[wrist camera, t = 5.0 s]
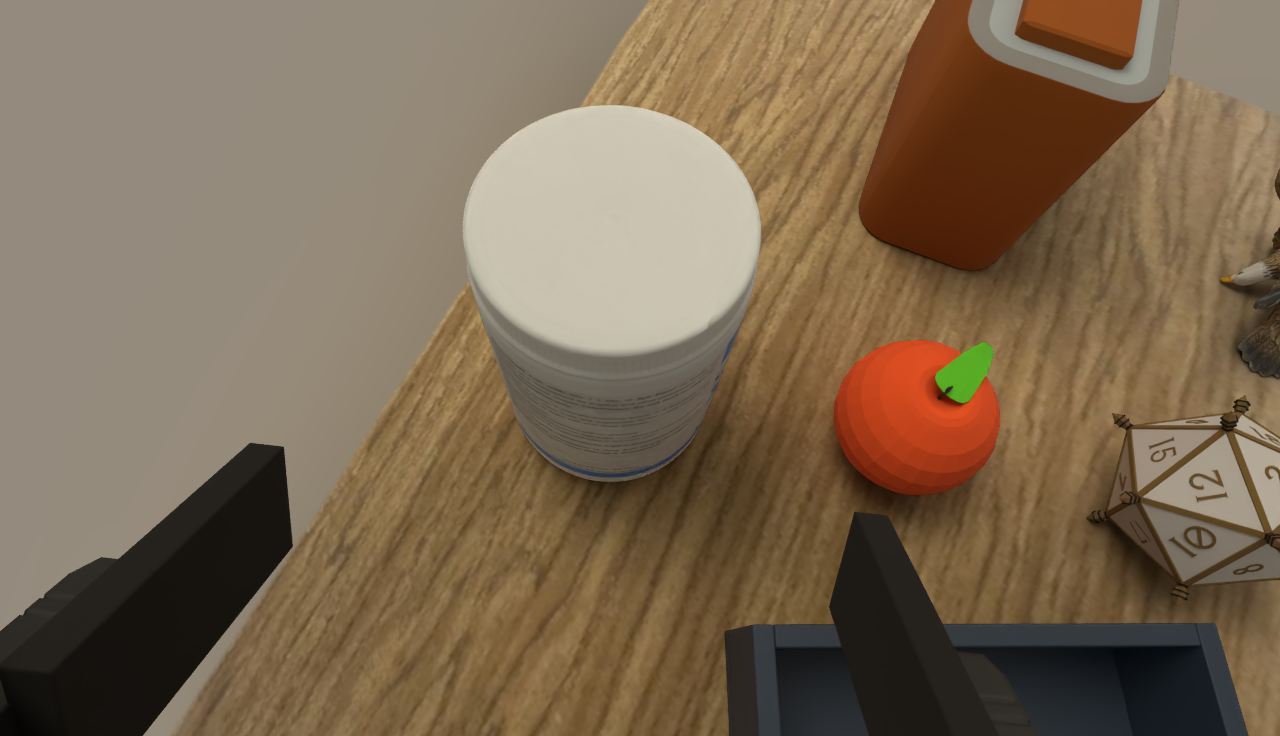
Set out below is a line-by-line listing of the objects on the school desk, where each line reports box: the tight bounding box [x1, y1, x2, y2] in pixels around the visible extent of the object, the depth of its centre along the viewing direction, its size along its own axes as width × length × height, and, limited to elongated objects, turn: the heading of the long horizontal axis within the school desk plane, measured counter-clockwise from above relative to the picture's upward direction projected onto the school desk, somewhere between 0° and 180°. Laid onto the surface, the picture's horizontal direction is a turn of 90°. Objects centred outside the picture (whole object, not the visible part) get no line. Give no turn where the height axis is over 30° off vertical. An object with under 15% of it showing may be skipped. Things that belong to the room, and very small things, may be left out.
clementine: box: [834, 340, 1000, 496], centre depth 32 cm, size 8×7×7 cm
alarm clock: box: [859, 0, 1179, 270], centre depth 36 cm, size 15×8×14 cm, turn 158°
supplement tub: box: [463, 105, 761, 482], centre depth 28 cm, size 10×10×15 cm
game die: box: [1087, 395, 1280, 606], centre depth 31 cm, size 9×8×10 cm
